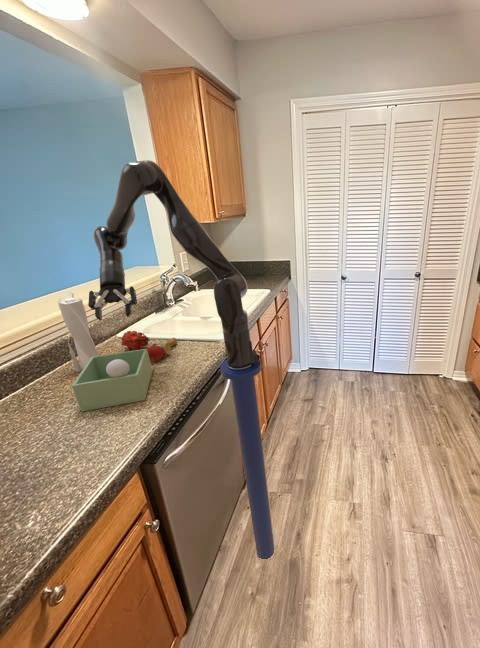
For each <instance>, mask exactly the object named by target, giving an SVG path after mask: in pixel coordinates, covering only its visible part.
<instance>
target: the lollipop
mask: <svg viewBox="0 0 480 648" xmlns="http://www.w3.org/2000/svg"><path fill="white" fill-rule="evenodd" d="M106 372H107V374H108V375H109V376H110V377H112V378H115V377H121V376H126V375H127V373H128V372H129V365H128V363H127V362H125V361H124V360H121V359H116V360H113V361H111V362H110V363H109V364H108V365H107V367H106Z"/></svg>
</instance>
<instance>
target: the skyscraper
mask: <svg viewBox="0 0 480 648" xmlns="http://www.w3.org/2000/svg"><path fill="white" fill-rule="evenodd" d="M68 295H69V296H70V295H71V297H70V298H65V299H64V300H63V301H61V300H62V299H63V298H64V297H66V296H68ZM74 295H75V293H74V292H67V293H65V294H63V295H61V296H60V298H59V299H58V301H57V304H58V307H59V310H60V313H61V316H62V318H63V321H64V323H65V326H66V328H67V330H68V332H69V334H70V335H71V337H72V338H73V343H74V346H75V347H74V348H75V350H76V352H75V350H73V348H72V345H71V343H70V340H69V339H67V340H66V341H67V346H68V348H69V354H70V356H71V361H72V365H73V367H74V370H75V371H74V373H76V374H77V373H78V374H80V373H81V372H82V370H83V369H84V367H85V366H86V364H87V363H88V361H89V360H90V359H91V357H94V356H100V355H99V351H98V349H97V347H96V345H95V342H94V340H93V338H92V336H91V334H90V330H89V321H88V315H87V312H86V308H85V305H84V302H83V299H82V298H74ZM75 353H76V354H77V355H76V354H75Z"/></svg>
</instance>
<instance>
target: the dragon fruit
mask: <svg viewBox="0 0 480 648" xmlns="http://www.w3.org/2000/svg"><path fill="white" fill-rule="evenodd" d="M120 340H121V343H120V345H121V346H124V347H126V348H127V349H128V351H132V349H134V350H141V349H145V347H144V346H147V345H149V342H150V341H151V340H150V337H148V336H147V335H145V333H144V332H139V331H136V330H132V331H131V330H127V331H126V332H124V333H123V334H122V337H121V339H120Z"/></svg>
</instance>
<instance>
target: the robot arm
mask: <svg viewBox="0 0 480 648" xmlns="http://www.w3.org/2000/svg"><path fill="white" fill-rule="evenodd" d="M121 169H122V170H121V173H120V176H119V181H118V187H117V191H116V197H115V201H114V204H113V206H112V209H111V210H110V212H109V215H108V217H107V219H106V224H105V225H106V226H104V225H100V226H97V227H96V228H95V229H94V231H93V240H94V242H95V246H96V249H97V251H98V254H99V257H100V258H99V291H93V290H90V291H89V292H88V304H87V305H88V307H89V308H90V309H91V310H92V311H94V316H95V318H96V319H97V320H98V321H102V320H103V308H104V307H106V306H107V305H108V304H113V303H120V302H122V303H123V304H124V309H125V311H124V312H125V315H126V317H128V318H129V317H130V316H131V315H132V313H133V312H132V306H136V305H138V298H137V292H136V289H135V288H134V286H130V287H129V288H126V274H125V269H124V256H123V253H122V252H121V251H122V250H125V249H126V247H127V246H128V245H127V244H128V235H129V230H130V229H131V227H132V226H133V223H134V222H135V219H136V211H135V207H134V206H135V204H136V202H137V201H138V200H139V198H141V197H142V196H148V195H152V194H153V195H154V196H155V197H156V198H157V199H158V200H159V202H160V203H161V204H162V206H163V208H164V209H165V211H166V215H167V220H168V225H169V229H170V232H171V235H172V236H173V238H174V239H175V240H176V242H177V243H178V244H179V246H180V247H181V248H182V249H183V250H184V251H185V252H186V253H187V254H188V255H189V256H190V257H191V258H193V259H194V260H196V261H197V262H199V263H200V264H202V265H203V266H205V268H207V269H208V270H209V271H210V272H211V273H212V274H213V275H214V277H215V278H216V281H215V282H214V285H213V297H214V302H215V307H216V312H217V315H218V317H219V318H220V323H221V329H222V335H223V341H224V343H223V344H224V349H225V357H226V360H227V363H228V368H230V369H232V370H244V369H247V368H249V367H251V366H254V361H256V360H257V361H258V360H259V359H260V360H261V356H260V354H258V353H257V350H256V349H253V344H252V340H251V333H250V323H249V315H248V311H247V310H245V309H244V306H243V301H242V300H243V299H242V298H244V297H245V296H246V295H247V292H248V289H249V288H248V284H247V280H246V278H245V277H244V276H243V274H241V273H240V272H239V270H238V269H237V268H235V266H234V265H233V264H232V262H230V260H228V259H227V257H226V256H225V255H224V253H222V251H221V250H220V248H219V247H218V245H217V244H216V243H215V242H214V241H213V239H212V238H211V237H210V236H209V234H208V233H207V231H206V230H205V228H204V227H203V225H201V223H200V222H199V221H198V220H197V218H196V217H195V216H194V215H193V213H192V212H191V210H190V209H189V208H188V206H187V204H185V203H184V201H183V199H182V198H181V197H180V196H179V194H178V192H177V190H176V189H175V188H174V186H173V184H172V183H171V181H170V180H169V178H168V176H167V175H166V174H165V172H164V170H163V169H162V168H161V167H160V165H158V164H157V163H156V162H154V161H153V160H148V159H145V160H144V159H143V160H135V161H131V162H127V163H126V164H125V165H124V166H123V167H122V168H121ZM127 294H129V295H130V300H129V299H128V298H126V297H125V296H126V295H127ZM98 297H99V298H98Z"/></svg>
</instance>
